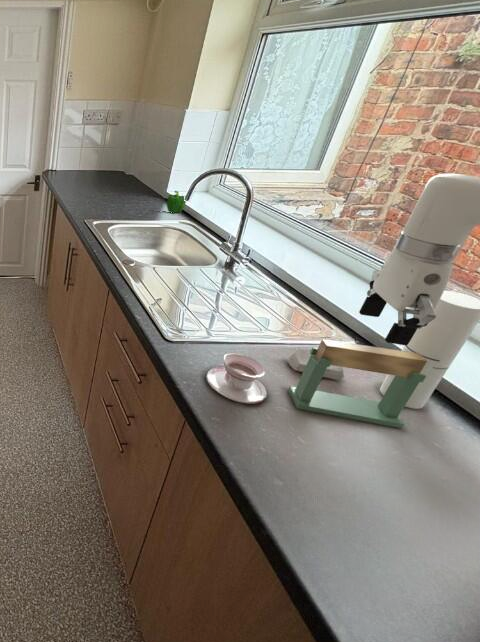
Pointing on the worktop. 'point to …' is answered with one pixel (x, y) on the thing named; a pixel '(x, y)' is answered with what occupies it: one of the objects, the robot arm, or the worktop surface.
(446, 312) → the cylindrical container
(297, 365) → the grey stone block
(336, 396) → the hanger stand
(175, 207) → the bell pepper
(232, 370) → the teacup
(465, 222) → the robot arm
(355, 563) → the worktop surface
